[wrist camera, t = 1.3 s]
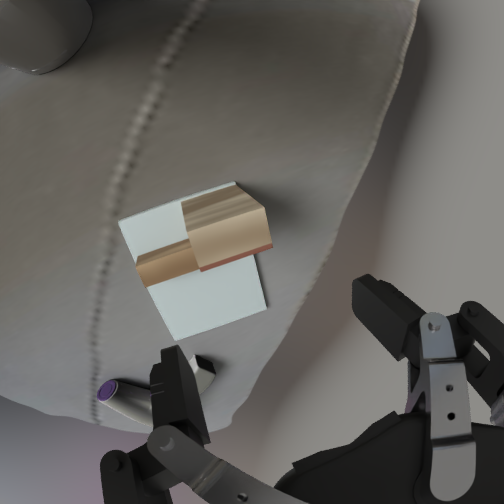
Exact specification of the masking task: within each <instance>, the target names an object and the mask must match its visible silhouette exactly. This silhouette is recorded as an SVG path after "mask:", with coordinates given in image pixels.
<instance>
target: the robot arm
mask: <svg viewBox="0 0 504 504" xmlns="http://www.w3.org/2000/svg"><path fill="white" fill-rule="evenodd" d="M92 19H93V16H92V10H91V8H90V6H89V4H88V2H87V1H86V0H0V64H1V65H4V66H7V67H10V68H13V69H16V70H19V71H22V72H25V73H28V74H43V73H47V72H49V71H51V70H54V69H56V68H57V67H59V66H61V65H62V64H64V63H65V62H66V61H67V60H68V59H70V58H71V57H72V56H73V55H74V54H75V53H76V52H77V51H78V50H79V48H80V47H81V45H82V44H83V43H84V41H85V39H86V38H87V36H88V34H89V31H90V28H91V25H92ZM352 309H353V312H354V314H355V316H356V317H357V318H358V319H359V320H360V321H361V322H362V323H363V325H364V326H365V327H366V328H367V329H368V330H369V331H370V332H371V333H372V334H373V335H374V336H375V337H376V338H377V339H378V341H379V342H381V344H382V345H383V346H384V347H385V348H386V349H387V350H388V351H389V352H390V353H391V355H392V356H393V357H394V358H395V359H396V360H397V361H400V360H401V359H403V358H404V357H407V358H408V398H407V403H406V408H405V413H404V414H400V415H397V413H396V412H395V411H393V412H391V413H390V414H388V415H386V416H385V417H383V418H382V419H380V420H378V421H377V422H375V423H373V424H372V425H371V426H370V427H369V428H368V429H366V430H365V431H364V432H363V433H362V434H361V435H360V436H359V437H358V438H357V439H355V440H354V441H353V442H352V443H350V444H348V445H345V446H341V447H337V448H333V449H329V450H324V451H320V452H317V453H315V454H313V455H311V456H308V457H306V458H303V459H301V460H299V461H296V462H293V463H292V464H293V467H294V468H293V469H291V470H290V471H289V472H287V473H286V474H285V475H284V476H283V477H282V478H281V479H280V480H279V481H278V482H277V483H276V485H275V486H274V488H273V487H271V486H269V485H267V484H265V483H263V482H261V481H259V480H257V479H256V478H254V477H252V476H250V475H248V474H246V473H245V472H243V471H241V470H240V469H238V468H236V467H235V466H233V465H231V464H230V463H228V462H226V461H224V460H222V459H220V458H217V457H216V456H215V455H213V454H211V453H210V452H208V451H207V450H206V449H205V448H204V444H209V443H211V442H210V438H209V434H208V430H207V426H206V422H205V418H204V414H203V410H202V405H201V401H200V396H199V392H198V387H197V383H196V378H195V375H194V372H193V370H192V368H191V366H190V364H189V362H188V361H187V359H186V357H185V355H184V354H183V352H182V350H181V348H180V347H179V345H175V346H172V347H168V348H165V349H162V350H161V363H158V364H154V365H153V368H152V370H151V373H150V386H151V387H150V392H151V407H152V418H153V431H152V432H151V433H150V435H149V437H148V439H147V442H146V443H145V444H144V445H142V446H140V447H138V448H136V449H135V450H132V451H130V452H129V453H124V452H123V451H121V450H112V451H109V452H107V453H106V454H105V455H104V456H103V458H102V459H101V462H100V472H101V482H102V490H103V497H104V504H173V502H172V499H171V495H170V491H169V488H171V487H173V486H175V485H177V484H178V483H181V482H184V483H185V484H186V485H188V486H189V487H190V488H191V489H192V490H193V492H195V493H196V494H197V495H198V496H200V497H201V498H202V499H204V500H205V501H207V502H208V503H209V504H504V324H503V323H502V322H500V320H498V319H497V318H496V317H495V316H494V315H493V314H491V313H490V312H489V311H488V310H487V309H486V308H484V307H483V306H482V305H481V304H479V303H477V302H475V301H467V302H465V303H463V304H462V305H461V308H460V311H459V313H456V314H453V315H450V316H446V317H445V316H444V315H442V314H440V313H436V312H430V313H426V312H425V311H424V310H423V309H421V308H420V307H419V306H418V305H416V304H415V303H414V302H413V301H411V300H410V299H409V298H408V297H407V296H404V294H403V293H402V292H400V291H398V289H397V288H396V287H394V286H393V285H392V284H391V283H388V282H385V281H383V280H379V281H377V280H376V279H375V278H374V277H373V276H371V275H370V274H366V275H363V276H361V277H359V278H357V279H355V280H353V283H352ZM475 340H476V341H477V342H478V343H479V344H480V345H481V346H482V347H483V348H484V349H485V350H486V351H487V352H488V353H489V356H490V361H489V360H488V359H487V358H486V357H485V356H484V355H483V354H482V353H481V352H480V351H479V350H478V349H477V348H476V347H475V346H474V343H475ZM467 381H468V382H469V383H470V384H471V385H472V386H473V388H474V389H475V390H476V391H477V392H478V394H479V395H480V396H481V397H482V398H483V400H484V401H485V402H486V403H487V404H488V405H489V407H490V408H491V417H490V422H491V423H492V424H493V425H488V424H480V423H474V422H471V416H470V404H469V395H468V386H467Z"/></svg>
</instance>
